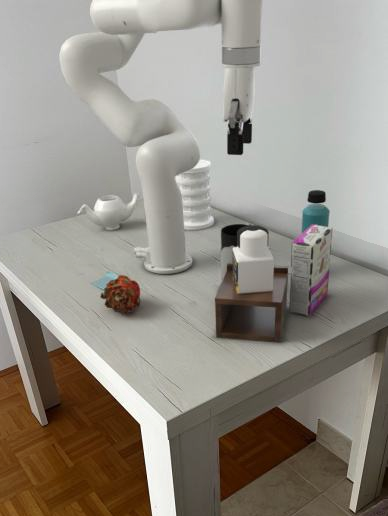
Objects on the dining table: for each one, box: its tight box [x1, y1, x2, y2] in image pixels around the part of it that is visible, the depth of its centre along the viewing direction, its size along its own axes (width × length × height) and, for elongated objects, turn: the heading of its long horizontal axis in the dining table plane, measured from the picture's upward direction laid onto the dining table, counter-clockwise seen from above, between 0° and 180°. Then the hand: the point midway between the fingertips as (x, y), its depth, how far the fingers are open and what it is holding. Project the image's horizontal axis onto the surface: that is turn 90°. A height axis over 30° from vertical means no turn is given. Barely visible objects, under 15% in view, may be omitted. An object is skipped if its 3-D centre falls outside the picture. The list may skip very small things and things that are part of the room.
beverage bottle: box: [300, 189, 331, 235], centre depth 130 cm, size 6×7×20 cm
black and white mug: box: [220, 222, 252, 284], centre depth 127 cm, size 9×14×15 cm, turn 158°
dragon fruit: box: [100, 274, 141, 314], centre depth 122 cm, size 8×8×12 cm
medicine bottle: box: [232, 224, 275, 294], centre depth 108 cm, size 7×7×12 cm
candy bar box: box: [289, 225, 333, 317], centre depth 117 cm, size 11×5×16 cm, turn 148°
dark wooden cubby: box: [214, 264, 289, 343], centre depth 113 cm, size 13×14×10 cm
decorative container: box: [175, 158, 215, 231], centre depth 164 cm, size 12×12×18 cm
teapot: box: [77, 192, 141, 231], centre depth 167 cm, size 10×20×9 cm, turn 112°
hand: (239, 148), depth 115 cm, fingers open, 9 cm apart
